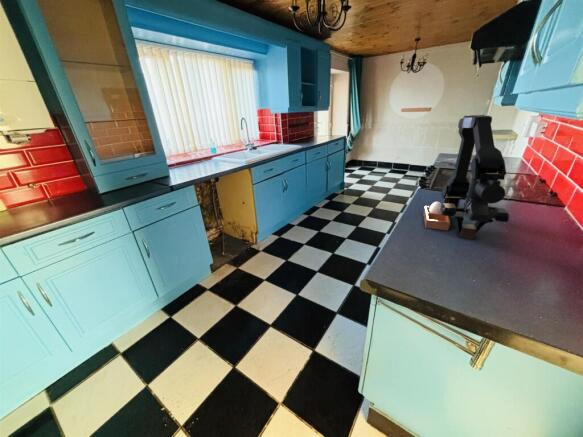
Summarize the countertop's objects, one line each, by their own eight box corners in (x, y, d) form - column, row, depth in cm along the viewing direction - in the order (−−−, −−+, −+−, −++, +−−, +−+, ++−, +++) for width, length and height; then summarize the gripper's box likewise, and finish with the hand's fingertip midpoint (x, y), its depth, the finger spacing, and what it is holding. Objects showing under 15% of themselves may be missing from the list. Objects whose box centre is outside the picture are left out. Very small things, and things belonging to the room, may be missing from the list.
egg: (440, 214, 102) (443, 200, 99) (441, 219, 98) (445, 204, 95) (427, 213, 104) (430, 199, 101) (428, 217, 100) (431, 203, 97)
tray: (425, 227, 93) (427, 219, 92) (423, 213, 106) (424, 206, 104) (448, 230, 90) (450, 222, 89) (443, 215, 103) (445, 207, 101)
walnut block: (458, 232, 89) (460, 223, 87) (471, 234, 87) (473, 224, 85) (460, 237, 85) (462, 227, 84) (473, 239, 84) (476, 229, 82)
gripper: (449, 198, 76) (439, 239, 83) (524, 204, 69) (506, 249, 76) (444, 187, 85) (436, 226, 92) (510, 192, 78) (495, 233, 85)
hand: (466, 233), depth 86 cm, fingers closed on walnut block, 4 cm apart
